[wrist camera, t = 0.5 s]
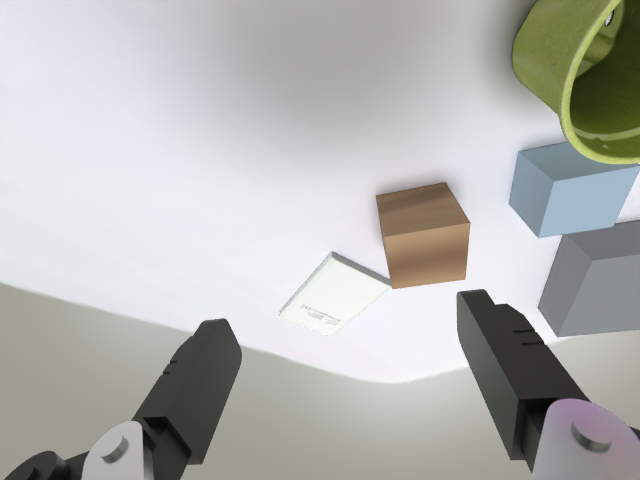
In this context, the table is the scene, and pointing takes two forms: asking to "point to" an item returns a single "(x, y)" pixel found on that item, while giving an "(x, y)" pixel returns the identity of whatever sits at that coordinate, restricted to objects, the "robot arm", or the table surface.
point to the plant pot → (586, 72)
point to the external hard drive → (334, 295)
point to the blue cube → (568, 190)
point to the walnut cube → (423, 236)
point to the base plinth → (595, 282)
